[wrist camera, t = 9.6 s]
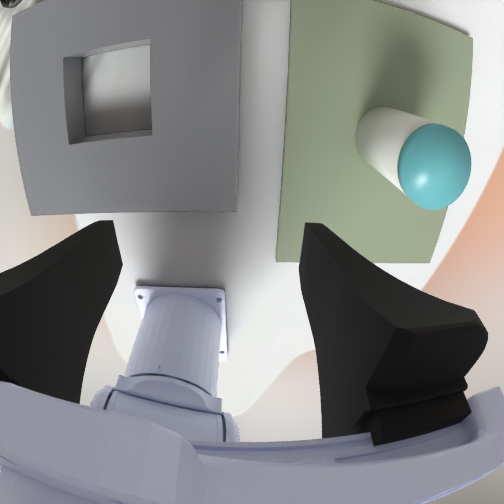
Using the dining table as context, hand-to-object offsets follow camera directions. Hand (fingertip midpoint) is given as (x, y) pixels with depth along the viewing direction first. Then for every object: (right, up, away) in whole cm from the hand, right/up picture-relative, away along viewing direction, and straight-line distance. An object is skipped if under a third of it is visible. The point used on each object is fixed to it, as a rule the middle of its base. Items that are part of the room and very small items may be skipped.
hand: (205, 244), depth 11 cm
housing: (-7, +10, +6) cm, 14 cm away
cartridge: (+11, +7, +7) cm, 15 cm away
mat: (+11, +8, +8) cm, 15 cm away
